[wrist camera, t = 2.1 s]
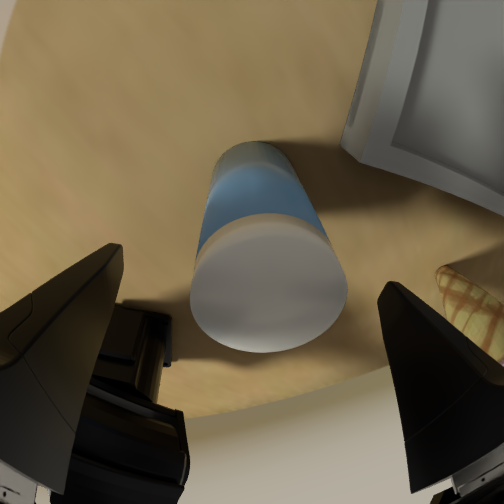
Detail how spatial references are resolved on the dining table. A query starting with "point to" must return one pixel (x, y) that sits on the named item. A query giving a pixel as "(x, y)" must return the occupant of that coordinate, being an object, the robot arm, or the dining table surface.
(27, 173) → the dining table surface
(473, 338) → the ice cream cone
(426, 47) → the tray
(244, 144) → the cylinder
